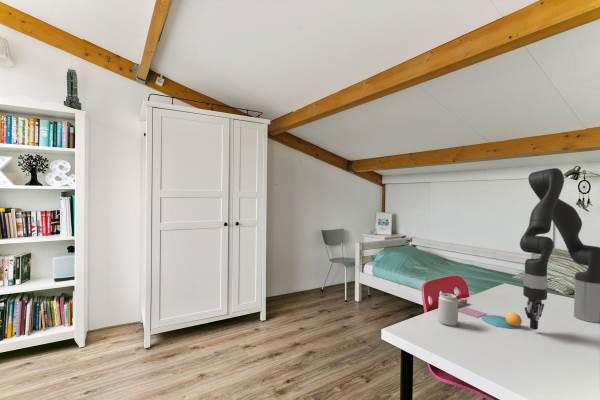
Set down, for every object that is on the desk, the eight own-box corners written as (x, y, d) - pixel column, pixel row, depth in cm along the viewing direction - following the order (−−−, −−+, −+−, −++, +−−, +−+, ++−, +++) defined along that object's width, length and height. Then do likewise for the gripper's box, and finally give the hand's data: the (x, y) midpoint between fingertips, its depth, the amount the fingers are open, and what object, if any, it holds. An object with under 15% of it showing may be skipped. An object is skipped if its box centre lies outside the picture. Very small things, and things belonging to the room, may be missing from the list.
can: (453, 320, 131) (454, 292, 131) (460, 327, 123) (461, 298, 123) (435, 319, 131) (436, 291, 131) (441, 326, 124) (442, 297, 124)
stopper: (462, 302, 154) (463, 297, 154) (466, 303, 152) (467, 299, 152) (440, 309, 143) (440, 304, 143) (444, 311, 141) (444, 305, 141)
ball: (524, 314, 125) (522, 328, 125) (509, 310, 130) (507, 322, 130) (519, 316, 122) (517, 329, 122) (504, 311, 127) (502, 324, 127)
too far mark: (467, 307, 146) (467, 307, 146) (487, 314, 139) (487, 313, 139) (457, 311, 141) (457, 310, 141) (477, 317, 134) (477, 317, 134)
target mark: (490, 313, 140) (490, 312, 140) (526, 324, 128) (526, 323, 128) (475, 319, 132) (475, 318, 132) (511, 331, 121) (511, 331, 121)
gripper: (530, 281, 127) (529, 322, 127) (517, 285, 120) (515, 328, 120) (553, 285, 121) (551, 328, 121) (540, 290, 113) (538, 336, 113)
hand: (533, 328), depth 120 cm, fingers closed
